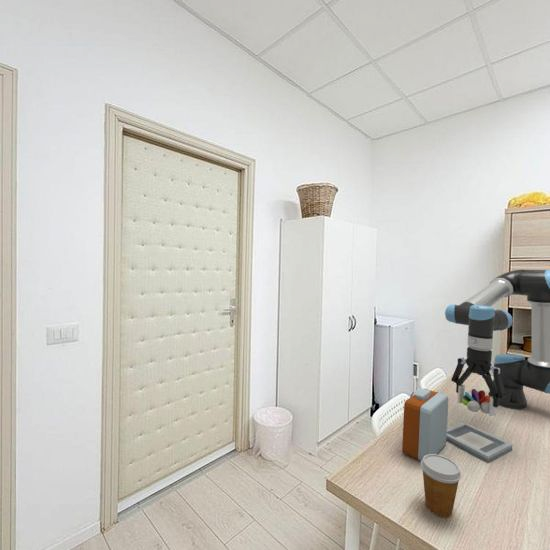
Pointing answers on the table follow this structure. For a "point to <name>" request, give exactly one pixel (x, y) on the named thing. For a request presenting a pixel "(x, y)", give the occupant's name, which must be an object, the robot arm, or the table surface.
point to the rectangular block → (424, 423)
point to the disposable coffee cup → (440, 483)
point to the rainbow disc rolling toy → (477, 401)
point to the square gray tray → (477, 442)
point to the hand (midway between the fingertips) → (475, 408)
